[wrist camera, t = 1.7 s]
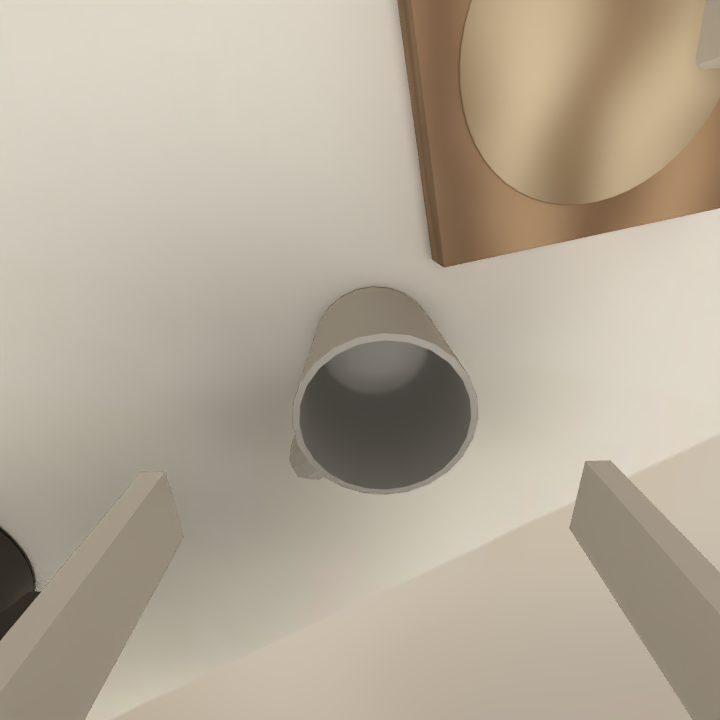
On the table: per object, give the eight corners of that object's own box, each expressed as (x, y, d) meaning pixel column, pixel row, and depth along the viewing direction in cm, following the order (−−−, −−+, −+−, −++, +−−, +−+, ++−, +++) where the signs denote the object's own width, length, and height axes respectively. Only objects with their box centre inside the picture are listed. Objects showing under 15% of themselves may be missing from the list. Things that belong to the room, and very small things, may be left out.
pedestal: (432, 259, 21) (445, 268, 18) (387, -77, 16) (394, -145, 13) (692, 202, 20) (753, 202, 17) (736, -175, 15) (836, -275, 12)
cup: (457, 340, 23) (516, 416, 14) (348, 442, 25) (344, 555, 17) (372, 257, 21) (383, 290, 13) (263, 377, 24) (213, 469, 15)
